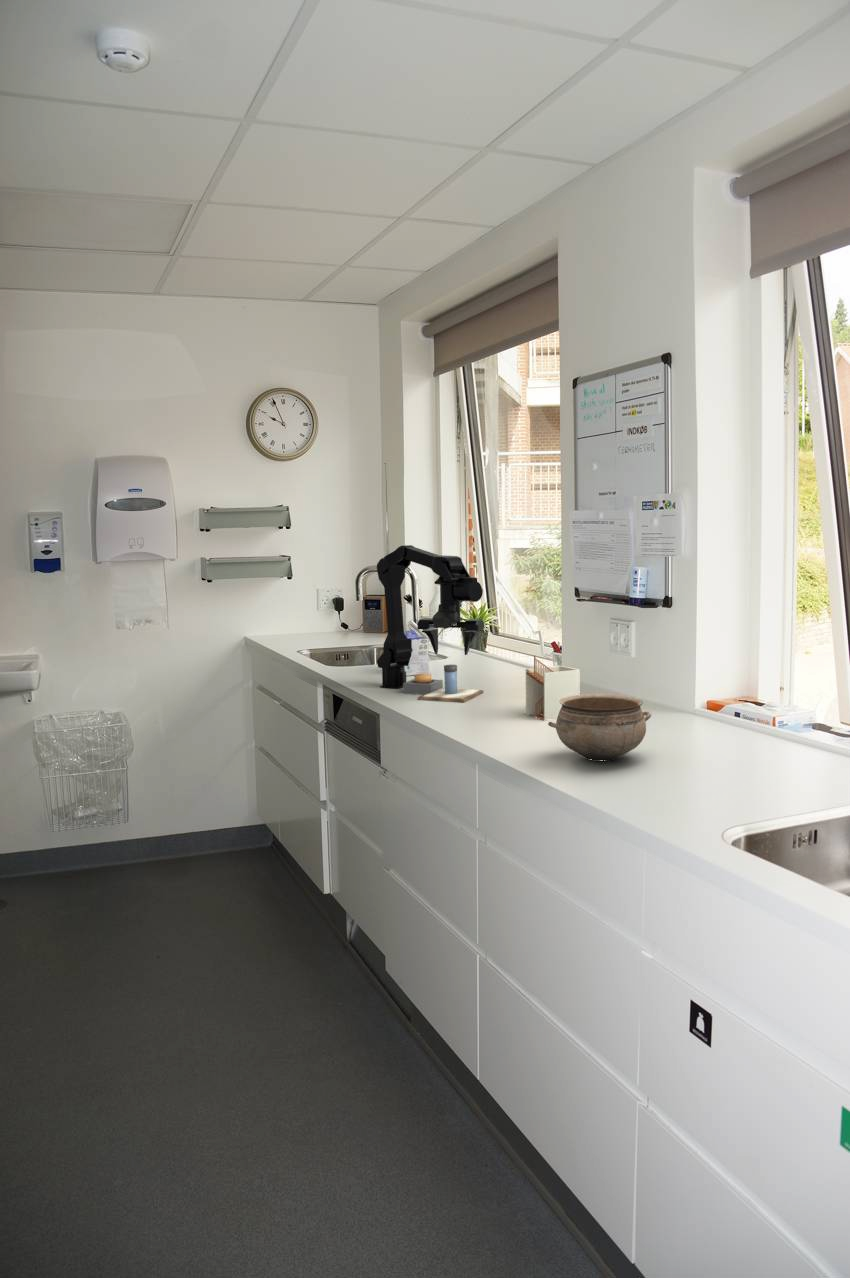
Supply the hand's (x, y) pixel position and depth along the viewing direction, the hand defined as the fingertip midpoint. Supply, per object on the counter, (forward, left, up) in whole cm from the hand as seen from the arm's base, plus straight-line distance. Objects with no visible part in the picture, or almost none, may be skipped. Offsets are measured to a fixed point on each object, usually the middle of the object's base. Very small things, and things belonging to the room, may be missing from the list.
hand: (451, 654), depth 284 cm
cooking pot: (+57, -58, -13) cm, 82 cm away
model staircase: (+35, -17, -13) cm, 41 cm away
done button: (-11, +5, -9) cm, 15 cm away
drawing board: (0, 0, -12) cm, 12 cm away
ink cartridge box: (-27, +34, -13) cm, 45 cm away
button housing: (-11, +5, -12) cm, 17 cm away
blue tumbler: (0, 0, -11) cm, 11 cm away
